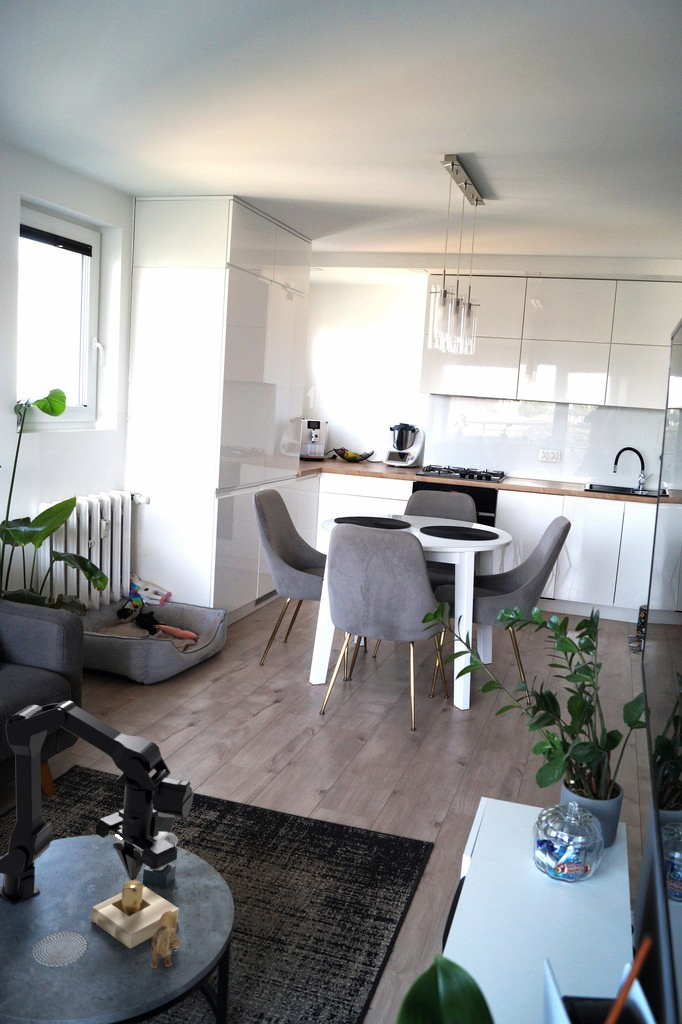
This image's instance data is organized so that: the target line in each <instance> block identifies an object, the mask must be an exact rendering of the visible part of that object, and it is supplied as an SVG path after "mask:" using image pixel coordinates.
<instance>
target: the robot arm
mask: <svg viewBox="0 0 682 1024" xmlns="http://www.w3.org/2000/svg"><path fill="white" fill-rule="evenodd" d="M57 727H61V728H62V729H64V730H66V731H67V732H69V733H71V734H73V736H76V737H77V738H79V739H81V740H82V741H84V742H86V743H87V744H89V745H90V746H92V747H94V748H96V749H97V750H98V751H101V752H103V753H104V754H105V755H107V756H108V757H109V758H111V760H112V761H113V763H114V765H115V767H116V768H117V769H118V770H119V771H121V772H122V773H121V774H120V775H119V776H118V777H117V778H116V779H115V780H114V783H115V784H117V785H120V786H125V787H124V797H123V798H124V799H123V809H120V810H118V811H116V812H115V813H112V814H110V815H107V816H104V817H102V818H100V819H99V820H98V822H97V823H96V824H95V834H96V835H98V836H99V837H101V838H102V839H104V838H107V837H108V836H109V833H110V831H113V832H114V833H115V836H114V837H115V838H116V843H113V844H112V846H113V847H112V848H113V849H114V850H115V851H116V853H117V855H118V857H119V859H120V861H121V863H122V865H123V867H124V870H125V872H126V874H127V876H128V879H130V881H136V879H137V878H138V876H139V873H141V872H140V871H141V869H142V867H143V865H145V866H149V867H150V868H152V869H158V868H160V867H162V866H164V865H166V864H168V863H169V864H171V863H172V862H174V861H176V860H177V859H178V851H179V850H178V847H177V846H176V847H175V846H174V845H172V844H171V843H169V842H167V841H165V840H164V839H162V840H160V841H158V842H157V840H155V839H153V838H154V837H155V836H157V835H158V831H159V832H171V833H172V829H173V826H174V823H175V820H176V817H180V818H186V817H188V815H189V813H190V811H191V809H192V804H193V800H194V792H193V788H192V787H191V782H190V781H189V780H186V779H185V780H184V779H183V780H182V779H181V780H180V779H174V778H169V777H168V776H170V775H171V771H170V769H169V768H168V766H167V764H166V762H165V760H164V759H163V757H162V754H161V750H160V747H159V745H157V744H156V743H155V742H153V741H151V740H149V739H147V738H143V737H141V736H135V735H128V734H125V733H122V732H121V731H120V730H117V729H116V728H114V727H112V726H111V725H109V724H107V723H105V722H104V721H102V720H101V719H99V718H97V717H96V716H94V715H92V714H90V713H89V712H87V711H85V710H84V709H82V708H80V707H79V706H77V704H76V703H75V702H74V701H71V700H64V701H63V702H57V703H55V702H53V703H50V704H49V703H48V704H46V705H42V706H41V705H38V704H30V705H28V706H26V707H24V708H22V709H21V710H19V711H18V712H16V713H14V714H12V715H11V716H10V717H9V718H8V719H7V720H6V722H5V727H4V728H5V734H6V738H7V744H8V746H9V747H10V749H11V750H12V751H13V753H14V757H15V762H14V763H15V765H14V766H15V806H16V809H15V810H16V811H15V812H16V813H15V814H16V821H15V824H14V827H13V830H12V831H11V834H10V838H9V843H8V849H7V852H6V853H5V854H4V855H3V856H2V857H1V858H0V874H2V875H3V879H2V885H1V886H0V896H1V897H3V898H4V900H6V901H7V900H8V902H9V903H10V904H11V903H12V905H14V904H13V903H15V904H17V903H19V901H20V902H22V901H23V899H24V900H26V899H28V898H31V897H32V896H35V895H36V894H39V893H41V888H39V887H38V886H36V885H35V883H36V876H35V875H36V872H35V871H36V867H35V862H36V860H37V859H38V858H40V857H42V854H44V853H45V852H46V851H47V850H48V848H50V846H51V842H53V840H54V837H53V833H52V831H53V823H52V822H47V821H45V819H44V817H43V815H42V775H41V774H42V773H41V772H42V767H41V762H42V761H41V757H42V756H41V754H42V753H41V749H42V747H43V745H44V743H45V741H46V740H45V739H46V737H47V735H48V730H51V729H55V728H57ZM153 770H154V771H155V773H154V774H153V775H152V776H150V773H151V772H153ZM21 900H22V901H21ZM16 902H17V903H16Z"/></svg>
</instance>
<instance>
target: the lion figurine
mask: <svg viewBox="0 0 682 1024" xmlns="http://www.w3.org/2000/svg"><path fill="white" fill-rule="evenodd" d="M177 926H178V922H177V919H176V915H175V913H173V912H172V911H168V912H165V913H164V914H163V915H162V916H161V918H160V921H159V926H158V928H157V931H156V932H155V934H154V935H153V936H152V937H151V944H150V945H151V954H152V955H151V956H152V962H151V964H150V967H151V968H152V969H157V967H158V964H159V961H158V958H164V962H163V963H164V965H165V967H167V968H170V967H171V966H172V965H173V963H172V961H171V956H172V953H173V951H174V952H178V949H179V948H180V946H182V941H181V940H179V939H178V937H177V936H178V935H177V929H178V927H177Z"/></svg>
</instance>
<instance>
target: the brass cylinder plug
mask: <svg viewBox="0 0 682 1024" xmlns="http://www.w3.org/2000/svg"><path fill="white" fill-rule="evenodd" d="M143 886H144V883H143V882H141V881H139V880H133V881H132V880H128V881H126V882H124V883H123V884H122V892H121V893H122V903H121V911H122V912H123V913H125V914H126V915H128V916H131V915H133V914H135V913H137V912H139V911H141V907H142V894H143Z"/></svg>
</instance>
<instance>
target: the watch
mask: <svg viewBox="0 0 682 1024" xmlns="http://www.w3.org/2000/svg"><path fill="white" fill-rule="evenodd" d="M152 838H153V839H155V840H157V842H158V841H160V840H162V839H164V840H165V841H167V842H169V843H171V844H172V845H174V846H175V847H176V848H177V844H178V843H179V839H178V837H177V836H176V834H174V832H172V831H171V832H159V831H158V835H157V836H155V837H152ZM176 866H177V865H175V864H172V863H168V864H166V865H164V866H162V867H160V868H158V869H152V868H150V867H149V866H147V865H145V867H144V868H143V872H142V873H143V874H142V883H143V884H147V883H148V885H152V886H155V887H159V888H162V889H167V888H168V887H169V886H170V884H171V883H172V882H173V881H174V880H175V878H176V868H177V867H176Z"/></svg>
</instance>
